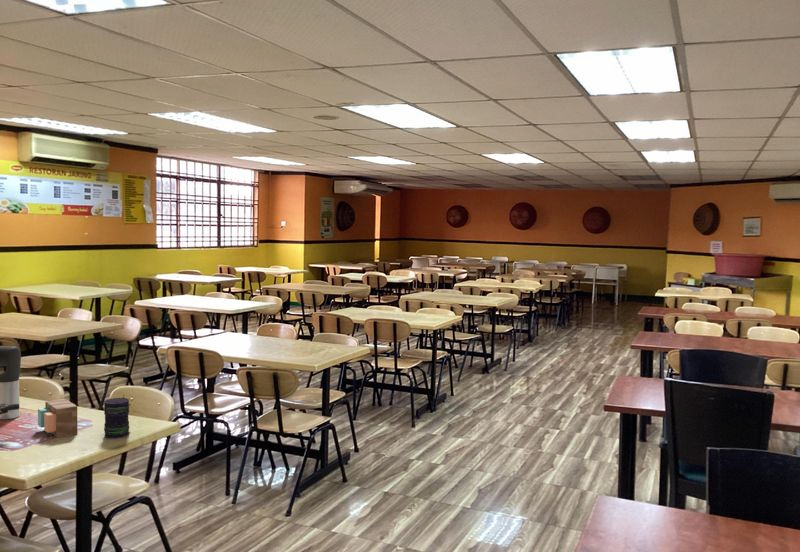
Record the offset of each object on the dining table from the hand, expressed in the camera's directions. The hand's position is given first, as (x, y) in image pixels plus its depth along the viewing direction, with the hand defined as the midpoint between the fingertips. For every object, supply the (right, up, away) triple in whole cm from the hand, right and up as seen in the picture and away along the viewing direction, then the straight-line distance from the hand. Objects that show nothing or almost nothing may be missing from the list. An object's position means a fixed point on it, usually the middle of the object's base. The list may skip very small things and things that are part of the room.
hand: (18, 406), depth 271 cm
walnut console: (+14, -12, +8) cm, 20 cm away
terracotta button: (+14, -10, +1) cm, 18 cm away
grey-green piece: (+8, -10, +8) cm, 15 cm away
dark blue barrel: (+40, -13, +4) cm, 42 cm away
